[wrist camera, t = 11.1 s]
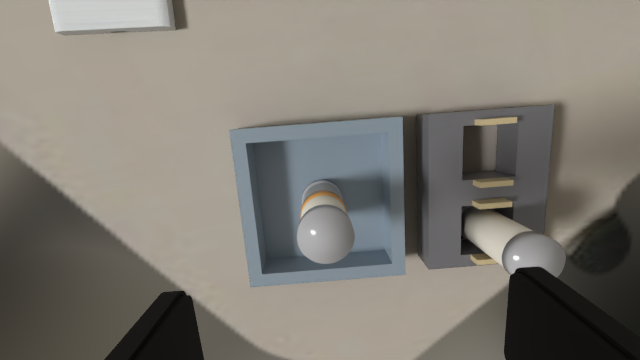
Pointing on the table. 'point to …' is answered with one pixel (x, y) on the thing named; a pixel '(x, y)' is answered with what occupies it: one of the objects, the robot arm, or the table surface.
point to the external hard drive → (111, 16)
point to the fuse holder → (479, 178)
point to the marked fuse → (324, 224)
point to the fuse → (510, 241)
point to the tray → (313, 164)
